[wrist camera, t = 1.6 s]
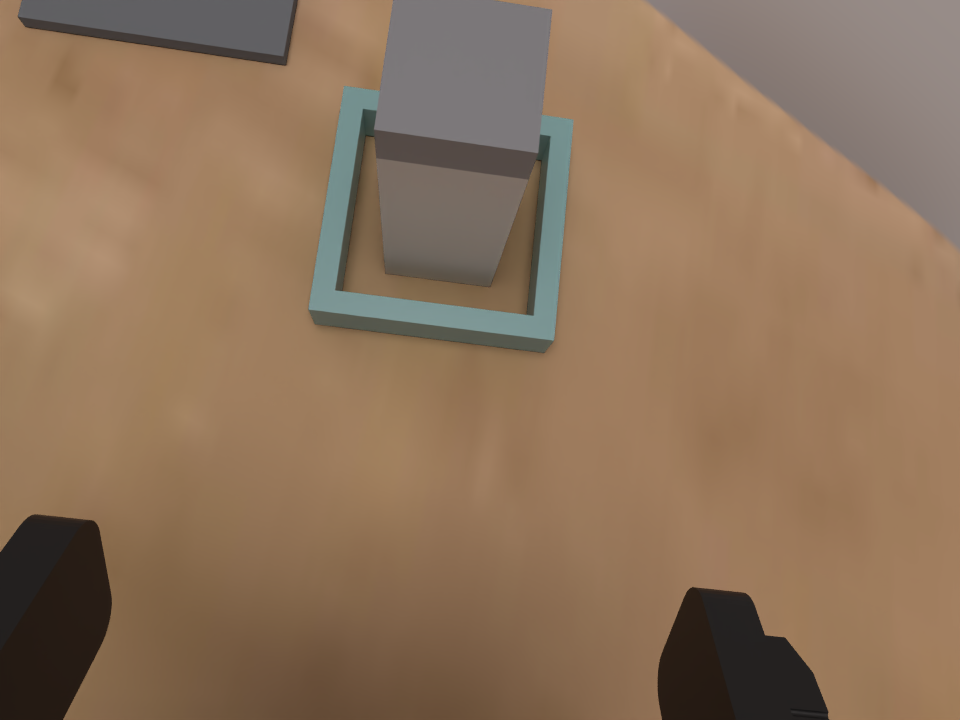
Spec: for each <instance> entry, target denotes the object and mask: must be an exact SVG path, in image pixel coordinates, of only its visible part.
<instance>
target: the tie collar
mask: <svg viewBox="0 0 960 720" xmlns="http://www.w3.org/2000/svg"><path fill="white" fill-rule="evenodd" d="M379 93H380V91H375V90H369V89H362V88H355V87H348V86H344V90H343V96H342V103H341V109H340V115H339V121H338V128H337V134H336V140H335V146H334V153H333V159H332V165H331V171H330V178H329V184H328V190H327V196H326V203H325V209H324V215H323V221H322V228H321V234H320V240H319V246H318V252H317V259H316V265H315V271H314V277H313V284H312V290H311V296H310V302H309V309H308V310H309V312H310V314H311V316H312V319H313V321H314V323H315V324H319V325H327V326H335V327H343V328H351V329H359V330H367V331H375V332H383V333H390V334H398V335H406V336H414V337H422V338H430V339H438V340H446V341H454V342H462V343H470V344H478V345H486V346H494V347H502V348H510V349H518V350H526V351H534V352H542V353H544V352H545V351H546V350H547V349H548V347H549V346H550V345H551V344H552V342H553V341H554V335H555V324H556V313H557V301H558V290H559V279H560V267H561V256H562V244H563V233H564V222H565V210H566V199H567V188H568V176H569V165H570V154H571V142H572V131H573V120H572V119H566V118H559V117H552V116H545V115H542V119H541V129H540V139H539V150H538V155H537V158H536V160H542V161H541V171H540V181H539V192H538V202H537V213H536V223H535V233H534V244H533V254H532V264H531V275H530V285H529V295H528V306H527V315H523V314H515V313H507V312H499V311H492V310H484V309H476V308H468V307H461V306H453V305H445V304H437V303H430V302H422V301H414V300H406V299H399V298H391V297H383V296H375V295H368V294H360V293H352V292H344V291H342V288H343V282H344V275H345V268H346V262H347V255H348V249H349V242H350V235H351V229H352V222H353V216H354V209H355V202H356V196H357V189H358V182H359V176H360V169H361V163H362V156H363V149H364V143H365V136H366V135H367V136H374V126H375V120H376V113H377V106H378V99H379ZM374 137H375V136H374Z"/></svg>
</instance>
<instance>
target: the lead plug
mask: <svg viewBox="0 0 960 720" xmlns="http://www.w3.org/2000/svg"><path fill="white" fill-rule="evenodd" d="M551 17H552V9H545V8H539V7H532V6H526V5H520V4H513V3H507V2H501V1H494V0H393V5H392V12H391V19H390V25H389V32H388V39H387V46H386V52H385V59H384V66H383V72H382V79H381V86H380V93H379V99H378V106H377V113H376V120H375V126H374V136H375V148H376V161H377V174H378V186H379V199H380V212H381V224H382V237H383V250H384V262H385V273H386V274H393V275H401V276H409V277H416V278H424V279H432V280H439V281H447V282H454V283H462V284H470V285H477V286H485V287H490V286H491V283H492V280H493V277H494V275H495V272H496V269H497V266H498V263H499V261H500V258H501V255H502V252H503V250H504V247H505V244H506V241H507V238H508V236H509V233H510V230H511V227H512V224H513V222H514V219H515V216H516V213H517V211H518V208H519V205H520V202H521V199H522V197H523V194H524V191H525V188H526V186H527V183H528V180H529V177H530V174H531V172H532V169H533V166H534V163H535V160H536V158H537V155H538V150H539V139H540V129H541V119H542V109H543V99H544V88H545V78H546V68H547V58H548V47H549V37H550V27H551Z"/></svg>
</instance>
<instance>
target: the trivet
mask: <svg viewBox="0 0 960 720" xmlns="http://www.w3.org/2000/svg"><path fill="white" fill-rule="evenodd" d="M296 6H297V0H22V2H21V6H20V10H19V14H18V18H19V19H20V20H21V22H22V23H23V24H24V26H25V27H31V28H38V29H45V30H52V31H58V32H65V33H72V34H79V35H85V36H92V37H99V38H106V39H112V40H119V41H126V42H133V43H139V44H146V45H153V46H160V47H166V48H173V49H180V50H187V51H193V52H200V53H207V54H214V55H220V56H227V57H234V58H240V59H247V60H254V61H261V62H267V63H274V64H281V65H286V61H287V56H288V50H289V45H290V39H291V33H292V28H293V22H294V17H295V11H296Z"/></svg>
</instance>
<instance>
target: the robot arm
mask: <svg viewBox="0 0 960 720" xmlns="http://www.w3.org/2000/svg"><path fill="white" fill-rule="evenodd" d="M111 606H112V597H111V591H110V585H109V580H108V574H107V569H106V564H105V558H104V553H103V547H102V542H101V536H100V531H99V527H98V525H97V524H96V523H95V522H94V521H92V520H83V519H74V518H65V517H56V516H46V515H31V516H30V517H28V518H27V519H26V520H25V521H23V523H22V524H21V525H20V526H19V528H18V529H17V530H16V532H15V533H14V535H13V536H12V537H11V539H10V540H9V541H8V543H7V544H6V545H5V547H4V548H3V550H2V551H1V552H0V720H63V718H64V716H65V714H66V712H67V710H68V709H69V707H70V705H71V703H72V701H73V699H74V697H75V695H76V693H77V691H78V689H79V687H80V685H81V683H82V681H83V679H84V677H85V676H86V674H87V672H88V670H89V668H90V666H91V664H92V662H93V660H94V658H95V656H96V654H97V652H98V650H99V648H100V646H101V644H102V642H103V640H104V637H105V634H106V631H107V628H108V624H109V620H110V615H111ZM658 698H659V705H660V710H661V716H662V720H829V719H828V710H827V707H826V705H825V702H824V700H823V697H822V694H821V692H820V689H819V687H818V684H817V682H816V679H815V677H814V674H813V672H812V671H811V670H810V668H809V667H808V666H807V665H806V663H805V662H804V661H803V660H802V658H801V657H800V656H799V655H798V653H797V652H796V651H795V650H794V648H793V647H792V646H791V645H790V643H789V642H788V641H787V640H786V638H784V637H774V636H765V634H764V631H763V628H762V625H761V623H760V620H759V617H758V614H757V611H756V608H755V605H754V603H753V601H752V599H751V598H750V596H749V595H748V594H746V593H741V592H732V591H723V590H714V589H704V588H695V587H692V588H690V589H689V590H688V591H687V593H686V595H685V597H684V599H683V602H682V604H681V607H680V609H679V612H678V614H677V617H676V619H675V622H674V624H673V627H672V629H671V632H670V634H669V637H668V639H667V642H666V644H665V647H664V649H663V652H662V655H661V658H660V662H659V669H658Z"/></svg>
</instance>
